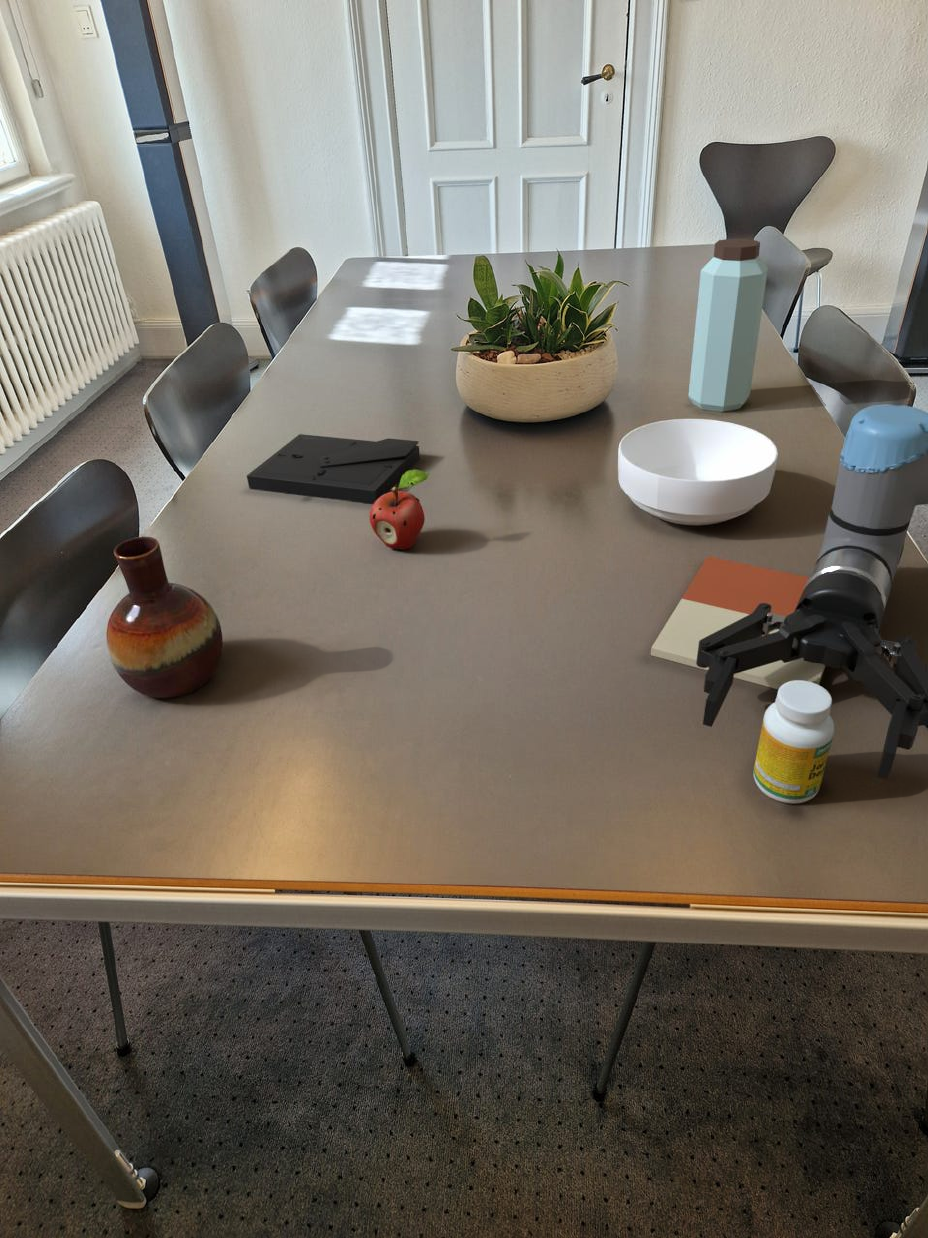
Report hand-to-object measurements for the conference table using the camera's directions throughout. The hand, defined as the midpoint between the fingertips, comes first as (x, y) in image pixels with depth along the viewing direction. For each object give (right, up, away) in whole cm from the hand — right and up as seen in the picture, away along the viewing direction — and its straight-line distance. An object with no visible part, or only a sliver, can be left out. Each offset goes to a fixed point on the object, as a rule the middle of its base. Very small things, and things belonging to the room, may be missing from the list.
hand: (793, 738), depth 68 cm
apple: (-34, +19, +41) cm, 57 cm away
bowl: (+4, +24, +45) cm, 51 cm away
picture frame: (-45, +31, +60) cm, 82 cm away
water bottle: (+16, +46, +75) cm, 89 cm away
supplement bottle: (+1, -4, +4) cm, 6 cm away
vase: (-56, +4, +21) cm, 60 cm away
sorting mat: (+5, +9, +23) cm, 25 cm away
